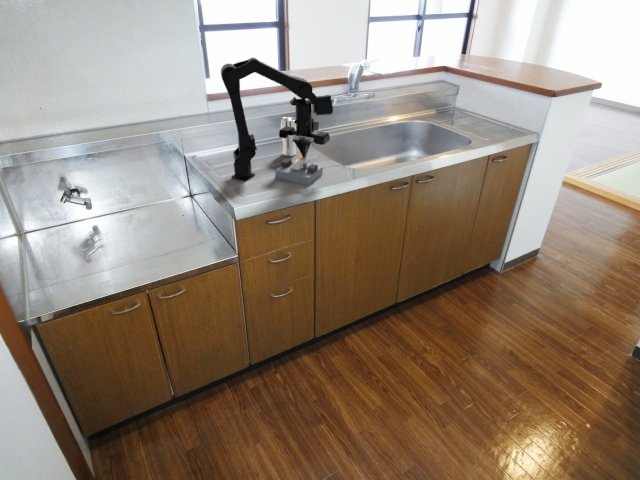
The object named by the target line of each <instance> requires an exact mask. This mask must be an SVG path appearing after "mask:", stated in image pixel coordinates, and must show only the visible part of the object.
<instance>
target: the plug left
mask: <svg viewBox="0 0 640 480" xmlns="http://www.w3.org/2000/svg"><path fill="white" fill-rule="evenodd" d="M290 165H292V159H289V158H285V159H283V160H281V161H280V167H284V168H287V167H289V166H290Z"/></svg>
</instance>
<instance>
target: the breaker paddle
mask: <svg viewBox="0 0 640 480" xmlns="http://www.w3.org/2000/svg"><path fill="white" fill-rule="evenodd" d="M294 161H295V162H294V163H293V164H292V165H291V166H290V168H291V169H296V170H299V169H300V168H301V167H302V166H303V164H305V163H307V162H308V161H309V157H307V156H306V157H303V156H302V155H301V156H298V158H297V159H296V160H294Z"/></svg>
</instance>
